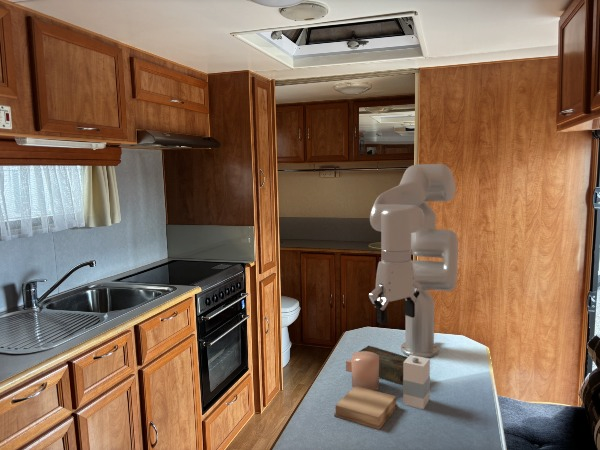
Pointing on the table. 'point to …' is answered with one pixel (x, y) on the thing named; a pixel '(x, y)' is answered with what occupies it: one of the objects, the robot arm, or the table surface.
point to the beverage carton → (389, 364)
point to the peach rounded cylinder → (364, 370)
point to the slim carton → (416, 381)
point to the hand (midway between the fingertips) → (396, 319)
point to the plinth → (366, 407)
